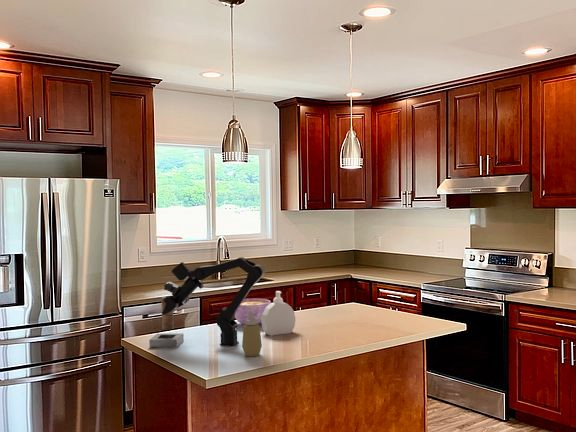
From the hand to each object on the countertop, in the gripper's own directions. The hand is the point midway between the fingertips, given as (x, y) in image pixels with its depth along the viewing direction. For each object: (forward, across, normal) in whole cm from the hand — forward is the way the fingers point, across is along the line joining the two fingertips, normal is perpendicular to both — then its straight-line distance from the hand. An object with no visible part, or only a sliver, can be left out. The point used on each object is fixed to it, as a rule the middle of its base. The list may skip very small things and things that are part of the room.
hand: (164, 312), depth 263 cm
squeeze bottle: (-21, +17, +41) cm, 49 cm away
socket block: (+8, +3, +11) cm, 14 cm away
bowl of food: (-11, -41, +31) cm, 53 cm away
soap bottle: (-24, -22, +44) cm, 54 cm away
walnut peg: (+4, 0, +6) cm, 7 cm away
